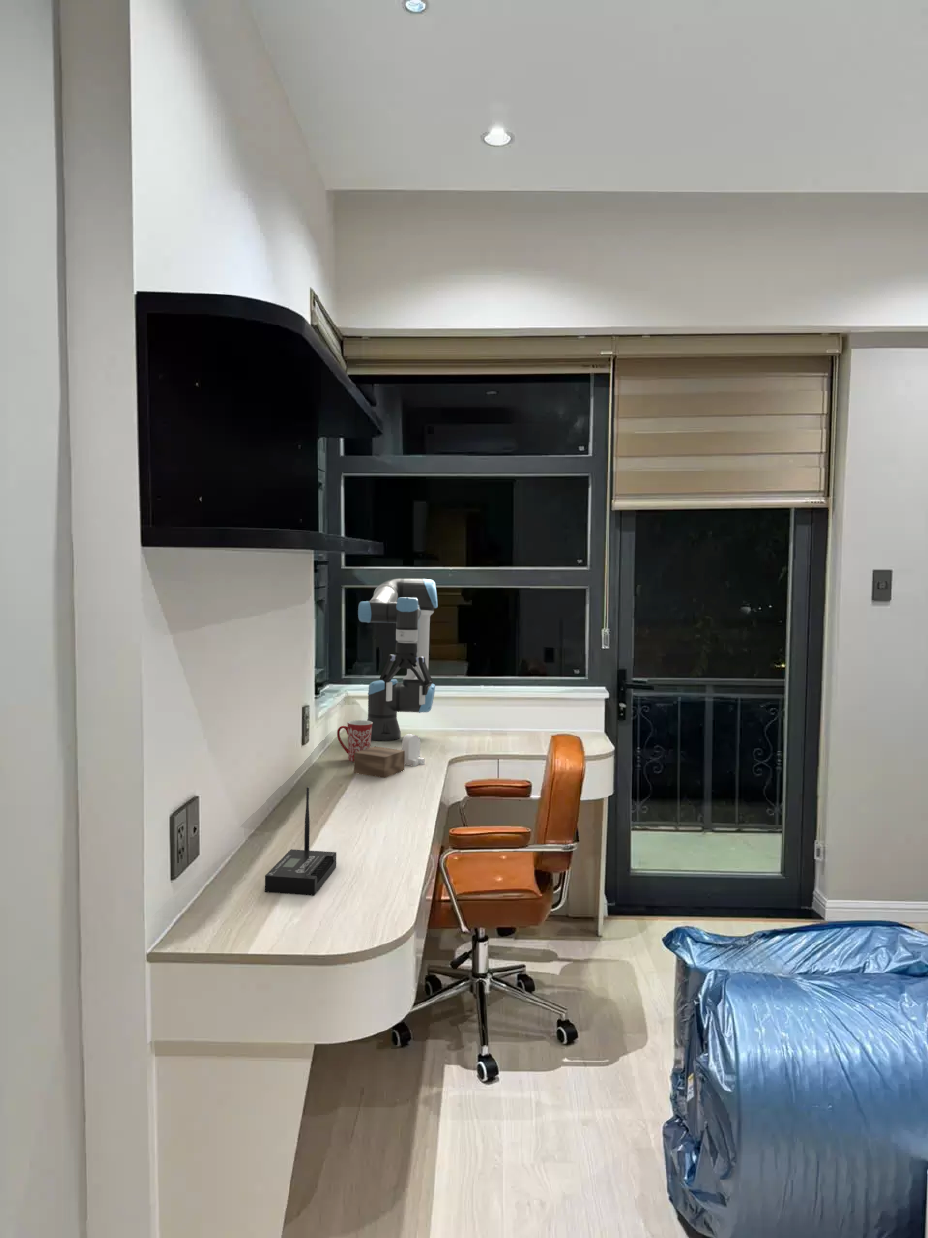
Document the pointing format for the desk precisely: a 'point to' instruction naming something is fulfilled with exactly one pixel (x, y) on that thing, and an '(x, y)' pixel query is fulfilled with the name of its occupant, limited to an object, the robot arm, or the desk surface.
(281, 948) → the desk surface
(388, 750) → the walnut block
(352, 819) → the desk surface
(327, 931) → the desk surface
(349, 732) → the mug
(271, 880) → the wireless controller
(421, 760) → the cable organizer
